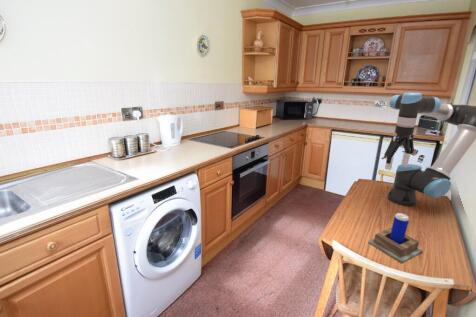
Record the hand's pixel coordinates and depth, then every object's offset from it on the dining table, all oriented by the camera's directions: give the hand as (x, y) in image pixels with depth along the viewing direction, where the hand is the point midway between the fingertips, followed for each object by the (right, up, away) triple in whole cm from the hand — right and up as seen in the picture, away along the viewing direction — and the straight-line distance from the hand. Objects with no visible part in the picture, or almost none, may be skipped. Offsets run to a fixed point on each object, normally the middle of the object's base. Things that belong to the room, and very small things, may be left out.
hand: (396, 167), depth 126 cm
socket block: (-11, -35, -16) cm, 40 cm away
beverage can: (-11, -34, -16) cm, 39 cm away
